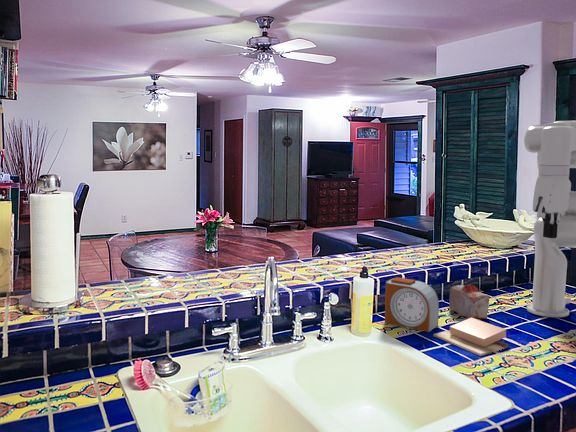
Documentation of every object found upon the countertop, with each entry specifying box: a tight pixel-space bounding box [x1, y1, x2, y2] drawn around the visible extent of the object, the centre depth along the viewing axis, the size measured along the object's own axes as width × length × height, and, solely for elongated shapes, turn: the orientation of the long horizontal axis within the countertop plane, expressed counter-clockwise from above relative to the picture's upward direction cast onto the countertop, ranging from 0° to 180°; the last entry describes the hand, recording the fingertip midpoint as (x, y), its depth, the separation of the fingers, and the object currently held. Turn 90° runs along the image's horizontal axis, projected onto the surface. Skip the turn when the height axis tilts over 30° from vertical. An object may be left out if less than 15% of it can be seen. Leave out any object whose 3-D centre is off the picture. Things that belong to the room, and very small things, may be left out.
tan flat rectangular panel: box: [432, 329, 505, 357], centre depth 152 cm, size 9×17×1 cm, turn 30°
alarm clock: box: [384, 276, 440, 333], centre depth 167 cm, size 15×8×14 cm, turn 55°
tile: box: [449, 318, 507, 347], centre depth 154 cm, size 2×12×9 cm
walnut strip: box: [494, 340, 509, 350], centre depth 155 cm, size 1×17×1 cm, turn 30°
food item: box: [448, 284, 490, 320], centre depth 176 cm, size 14×8×10 cm, turn 21°
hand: (549, 237), depth 152 cm, fingers closed
